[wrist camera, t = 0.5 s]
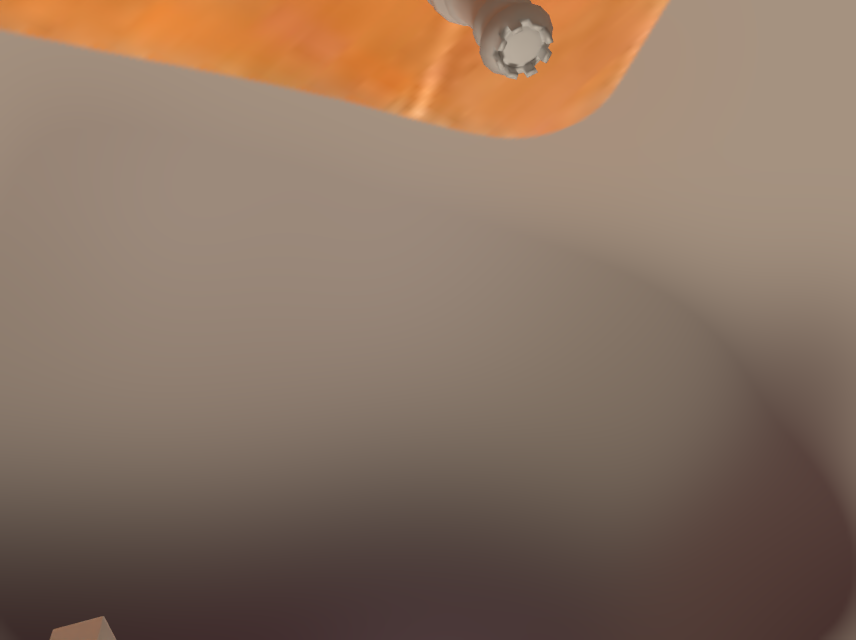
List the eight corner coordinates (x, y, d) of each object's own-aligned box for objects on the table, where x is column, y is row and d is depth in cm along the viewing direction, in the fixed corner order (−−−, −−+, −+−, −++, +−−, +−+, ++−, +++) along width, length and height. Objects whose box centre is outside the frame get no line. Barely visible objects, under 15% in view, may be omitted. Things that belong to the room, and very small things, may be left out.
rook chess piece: (400, -12, 38) (452, 76, 33) (452, -101, 36) (517, -21, 31) (472, 26, 41) (531, 113, 35) (525, -55, 38) (596, 27, 33)
